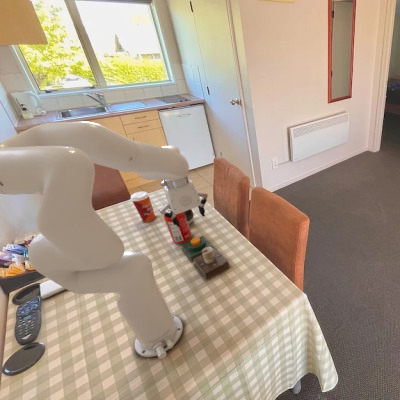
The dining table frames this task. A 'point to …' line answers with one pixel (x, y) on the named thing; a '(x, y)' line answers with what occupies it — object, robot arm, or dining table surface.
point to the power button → (195, 241)
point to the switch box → (196, 248)
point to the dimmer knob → (208, 255)
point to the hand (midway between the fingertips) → (190, 219)
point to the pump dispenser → (189, 215)
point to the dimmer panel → (211, 265)
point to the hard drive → (49, 289)
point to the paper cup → (143, 206)
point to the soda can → (178, 228)
